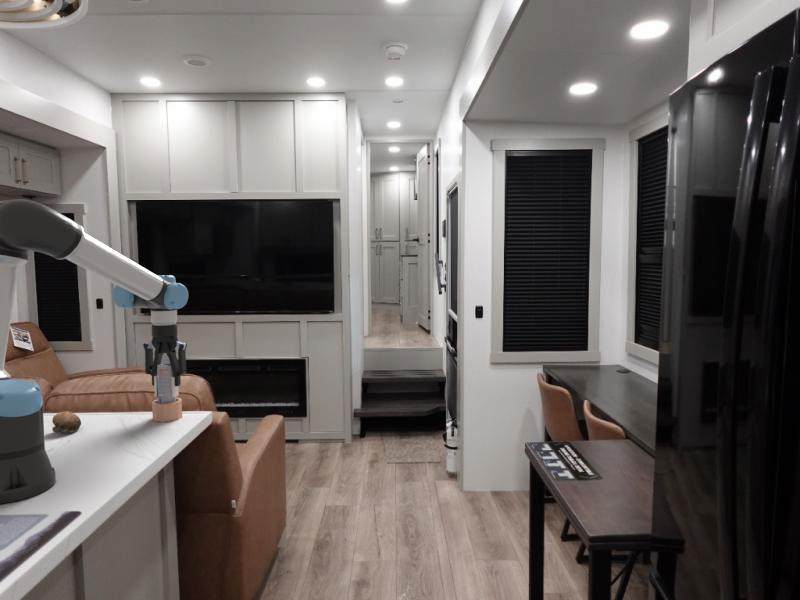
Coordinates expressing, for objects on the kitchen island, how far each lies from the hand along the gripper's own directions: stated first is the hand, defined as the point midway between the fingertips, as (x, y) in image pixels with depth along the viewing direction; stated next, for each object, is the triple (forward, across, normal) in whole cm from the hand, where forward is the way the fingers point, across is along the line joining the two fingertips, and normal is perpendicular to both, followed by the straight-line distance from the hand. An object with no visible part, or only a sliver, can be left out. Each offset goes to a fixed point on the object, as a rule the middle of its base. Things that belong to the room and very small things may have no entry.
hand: (166, 395), depth 166 cm
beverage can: (+5, 0, 0) cm, 5 cm away
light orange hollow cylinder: (+7, 0, 0) cm, 7 cm away
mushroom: (+8, +22, +16) cm, 28 cm away
